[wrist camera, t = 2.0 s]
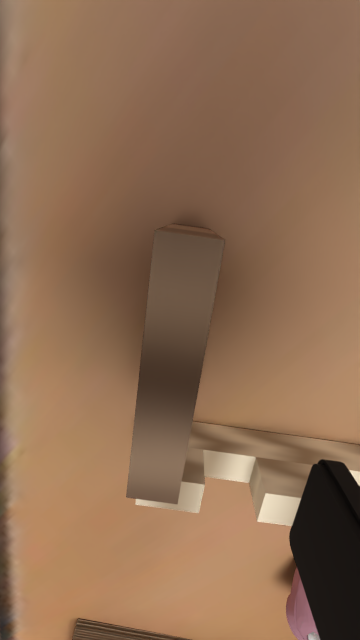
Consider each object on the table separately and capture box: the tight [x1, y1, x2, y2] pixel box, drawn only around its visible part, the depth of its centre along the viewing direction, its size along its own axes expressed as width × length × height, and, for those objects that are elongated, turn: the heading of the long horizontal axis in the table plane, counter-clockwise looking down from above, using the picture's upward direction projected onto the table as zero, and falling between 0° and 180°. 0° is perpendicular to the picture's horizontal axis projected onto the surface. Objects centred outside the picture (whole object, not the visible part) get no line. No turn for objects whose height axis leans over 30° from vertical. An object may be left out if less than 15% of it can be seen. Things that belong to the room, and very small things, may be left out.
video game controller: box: [286, 567, 320, 640], centre depth 28 cm, size 10×5×7 cm, turn 57°
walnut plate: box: [126, 224, 225, 504], centre depth 17 cm, size 12×2×10 cm, turn 172°
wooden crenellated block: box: [136, 421, 360, 526], centre depth 22 cm, size 22×2×6 cm, turn 82°
